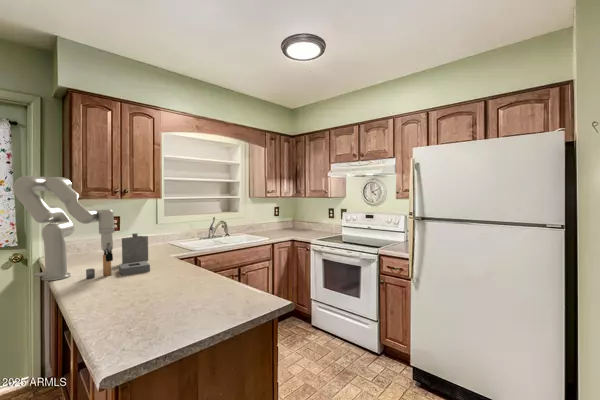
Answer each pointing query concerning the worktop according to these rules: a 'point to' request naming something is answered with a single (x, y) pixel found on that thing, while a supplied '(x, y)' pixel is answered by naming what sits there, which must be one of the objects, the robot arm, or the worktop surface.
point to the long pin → (106, 267)
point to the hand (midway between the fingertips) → (108, 259)
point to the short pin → (90, 273)
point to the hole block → (134, 268)
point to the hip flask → (134, 249)
